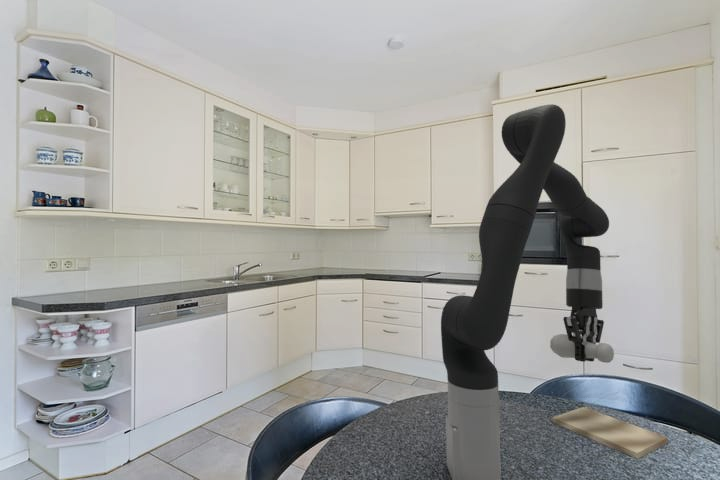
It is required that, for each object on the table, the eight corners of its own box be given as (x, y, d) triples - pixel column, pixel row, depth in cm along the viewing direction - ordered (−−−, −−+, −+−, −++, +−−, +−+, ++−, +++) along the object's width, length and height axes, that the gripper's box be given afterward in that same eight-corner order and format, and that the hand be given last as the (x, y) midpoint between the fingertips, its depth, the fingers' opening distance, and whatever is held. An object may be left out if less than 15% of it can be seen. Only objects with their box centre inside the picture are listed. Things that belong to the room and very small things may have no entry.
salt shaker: (555, 360, 89) (612, 372, 78) (545, 345, 88) (601, 356, 76) (563, 342, 92) (620, 352, 80) (554, 327, 90) (609, 335, 79)
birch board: (552, 422, 86) (552, 417, 86) (583, 411, 92) (583, 406, 92) (637, 459, 70) (637, 452, 70) (668, 443, 76) (667, 437, 76)
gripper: (583, 286, 79) (584, 364, 76) (615, 291, 86) (617, 363, 83) (551, 285, 86) (551, 357, 83) (583, 290, 92) (584, 357, 90)
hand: (584, 360), depth 83 cm, fingers closed on salt shaker, 3 cm apart
